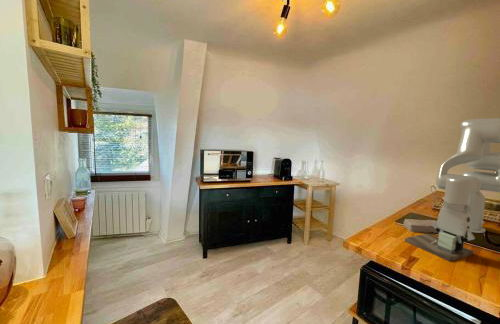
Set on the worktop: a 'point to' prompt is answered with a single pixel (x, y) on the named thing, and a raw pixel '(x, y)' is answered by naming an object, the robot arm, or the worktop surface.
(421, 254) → the worktop surface
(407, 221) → the brick
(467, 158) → the robot arm
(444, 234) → the block
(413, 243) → the board
